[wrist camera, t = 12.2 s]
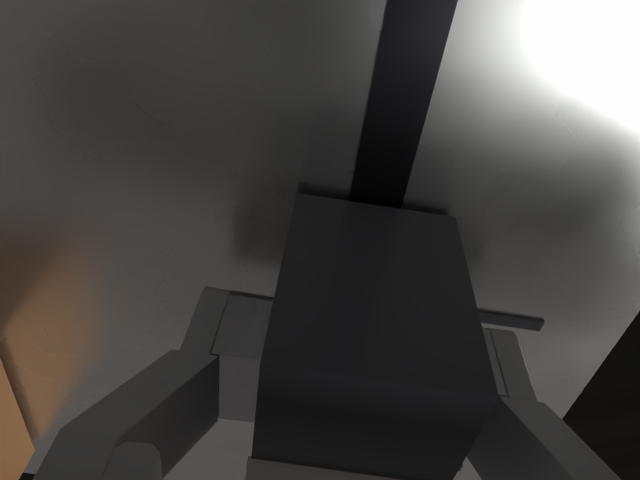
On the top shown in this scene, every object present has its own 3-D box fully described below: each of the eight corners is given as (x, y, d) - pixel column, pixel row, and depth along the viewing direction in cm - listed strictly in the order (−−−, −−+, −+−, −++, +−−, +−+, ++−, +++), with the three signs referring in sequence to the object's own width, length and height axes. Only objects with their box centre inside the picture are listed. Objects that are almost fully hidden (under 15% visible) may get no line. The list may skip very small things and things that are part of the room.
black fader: (293, 192, 10) (255, 367, 6) (458, 217, 10) (504, 403, 6) (272, 365, 13) (240, 543, 9) (398, 383, 13) (409, 567, 9)
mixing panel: (-635, -521, 7) (-1140, -711, 5) (863, -262, 8) (1093, -316, 5) (-111, 371, 19) (-180, 446, 17) (465, 453, 20) (478, 538, 17)
